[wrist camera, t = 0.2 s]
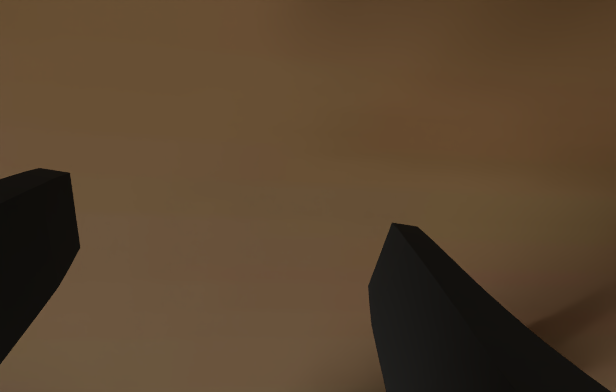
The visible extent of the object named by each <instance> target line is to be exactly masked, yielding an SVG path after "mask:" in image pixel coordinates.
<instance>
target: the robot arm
mask: <svg viewBox="0 0 616 392" xmlns="http://www.w3.org/2000/svg"><path fill="white" fill-rule="evenodd" d="M79 249H80V243H79V235H78V228H77V221H76V214H75V207H74V200H73V192H72V185H71V178H70V173H68V172H61V171H55V170H48V169H42V168H38V169H34V170H30V171H26V172H22V173H19V174H16V175H12V176H9V177H6V178H3V179H0V364H1V363H2V361H3V360H4V359H5V357H6V356H7V355H8V353H9V352H10V351H11V349H12V348H13V347H14V345H15V344H16V343H17V341H18V340H19V339H20V338H21V336H22V335H23V334H24V332H25V331H26V330H27V328H28V327H29V326H30V324H31V323H32V322H33V320H34V319H35V318H36V316H37V315H38V314H39V312H40V311H41V310H42V308H43V307H44V306H45V304H46V303H47V302H48V300H49V299H50V298H51V296H52V295H53V294H54V292H55V291H56V289H57V288H58V287H59V285H60V283H61V281H62V280H63V278H64V276H65V275H66V273H67V271H68V269H69V268H70V266H71V264H72V262H73V260H74V258H75V256H76V254H77V252H78V251H79ZM368 289H369V303H370V314H371V323H372V329H373V334H374V338H375V343H376V348H377V352H378V357H379V361H380V366H381V370H382V374H383V379H384V383H385V388H386V392H611V391H609V390H608V389H607V388H605V387H604V386H602V385H601V384H600V383H598V382H597V381H595V380H594V379H593V378H591V377H590V376H588V375H587V374H586V373H584V372H583V371H582V370H580V369H579V368H578V367H576V366H575V365H574V364H573V363H571V362H570V361H569V360H567V359H566V358H565V357H563V356H562V355H561V354H559V353H558V352H557V351H556V350H554V349H553V348H552V347H550V346H549V345H548V344H546V343H545V342H544V341H543V340H542V339H540V338H539V337H538V336H537V335H535V334H534V333H533V332H532V331H531V330H529V329H528V328H527V327H526V326H525V325H524V324H522V323H521V322H520V321H519V320H518V319H517V318H515V317H514V316H513V315H512V314H511V313H510V312H508V311H507V310H506V309H505V308H504V307H503V306H502V305H500V304H499V303H498V302H497V301H496V300H495V299H494V298H493V297H492V296H491V295H489V294H488V293H487V292H486V291H485V290H484V289H483V288H482V287H481V286H480V285H479V284H478V283H476V282H475V281H474V280H473V279H472V278H471V277H470V276H469V275H468V274H467V273H466V272H465V271H464V270H463V269H462V268H461V267H460V266H459V265H458V264H457V263H456V262H455V261H454V260H453V259H451V258H450V257H449V256H448V255H447V254H446V253H445V252H444V251H443V250H442V249H441V248H440V247H439V246H438V245H437V244H436V243H435V242H434V241H433V240H432V239H431V238H430V237H428V236H427V235H426V234H425V233H424V232H423V231H422V230H420V229H419V228H418V227H417V226H410V225H404V224H397V223H392V224H391V227H390V230H389V232H388V235H387V238H386V240H385V243H384V245H383V248H382V251H381V253H380V256H379V259H378V261H377V264H376V267H375V269H374V272H373V275H372V277H371V280H370V283H369V285H368Z"/></svg>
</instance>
